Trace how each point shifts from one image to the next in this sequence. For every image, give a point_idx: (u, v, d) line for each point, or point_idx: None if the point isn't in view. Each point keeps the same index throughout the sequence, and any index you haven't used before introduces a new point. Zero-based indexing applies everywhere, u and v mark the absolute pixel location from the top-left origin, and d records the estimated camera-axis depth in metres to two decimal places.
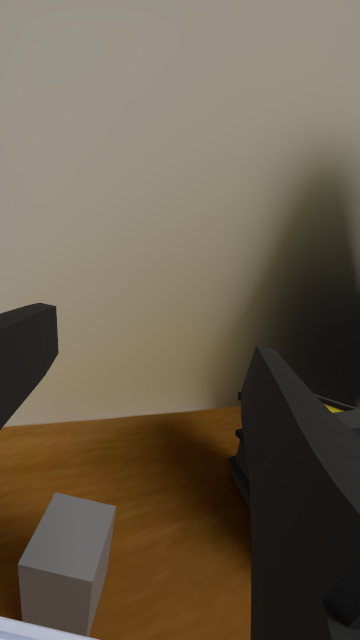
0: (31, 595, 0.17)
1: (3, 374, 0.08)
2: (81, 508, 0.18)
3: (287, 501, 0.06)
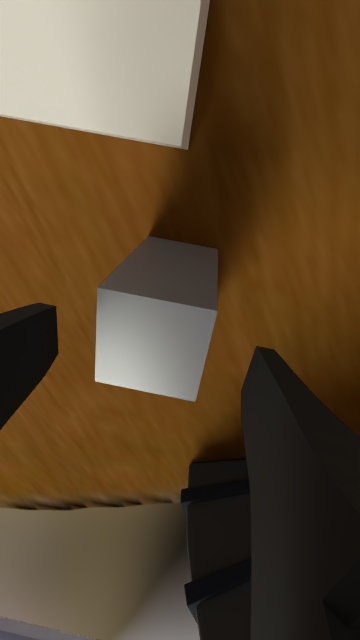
0: None
1: (3, 374, 0.08)
2: (189, 356, 0.11)
3: (287, 501, 0.06)
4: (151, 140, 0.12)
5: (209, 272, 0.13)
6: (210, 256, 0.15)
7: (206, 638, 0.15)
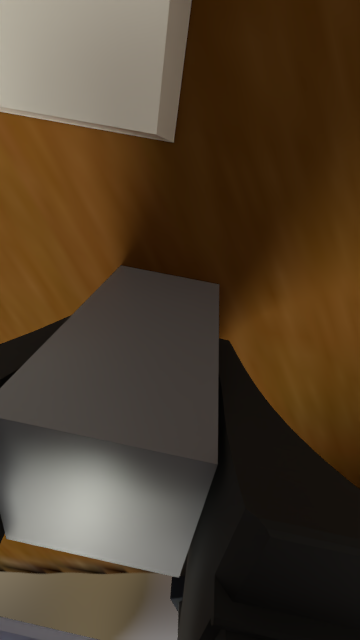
0: None
1: None
2: (164, 523, 0.06)
3: None
4: (106, 124, 0.07)
5: (205, 340, 0.08)
6: (207, 300, 0.10)
7: None
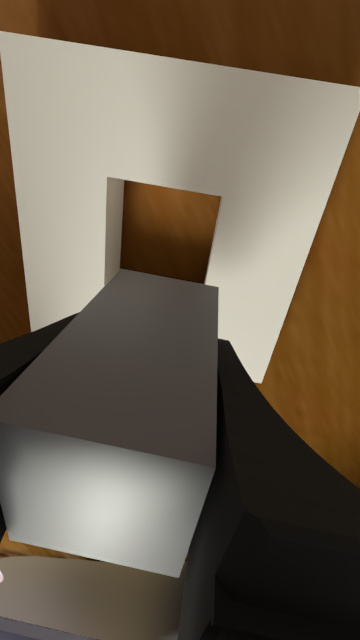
0: None
1: None
2: (164, 524, 0.06)
3: (210, 485, 0.06)
4: None
5: (204, 344, 0.08)
6: (207, 304, 0.10)
7: None
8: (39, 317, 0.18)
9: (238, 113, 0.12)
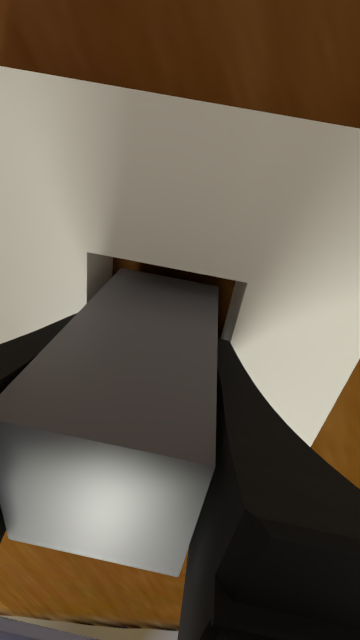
0: None
1: None
2: (163, 523, 0.06)
3: (210, 485, 0.06)
4: None
5: (204, 342, 0.08)
6: (207, 303, 0.10)
7: None
8: None
9: (276, 177, 0.08)
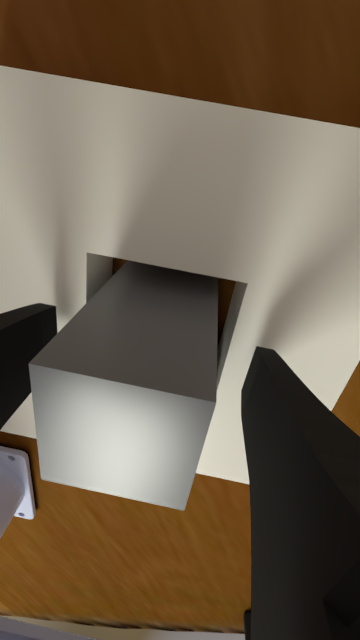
0: None
1: (3, 374, 0.08)
2: (173, 458, 0.07)
3: (287, 501, 0.06)
4: None
5: (206, 318, 0.09)
6: (208, 287, 0.12)
7: None
8: None
9: (276, 177, 0.08)
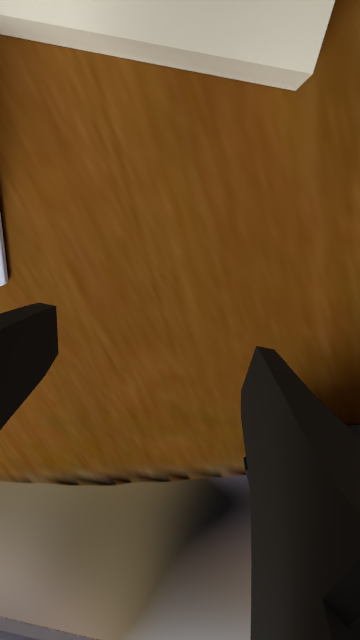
0: None
1: (3, 374, 0.08)
2: None
3: (287, 501, 0.06)
4: (281, 67, 0.12)
5: None
6: None
7: None
8: None
9: None
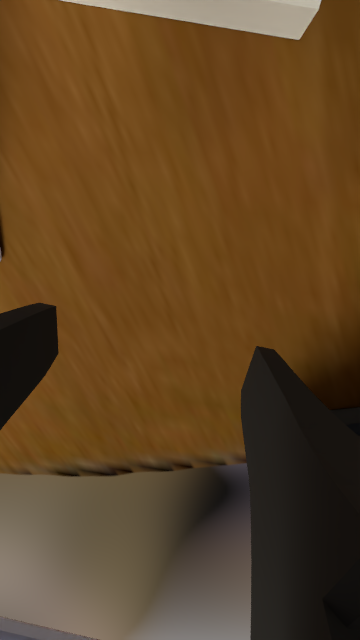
0: None
1: (3, 374, 0.08)
2: None
3: (287, 501, 0.06)
4: (284, 3, 0.11)
5: None
6: None
7: None
8: None
9: None
